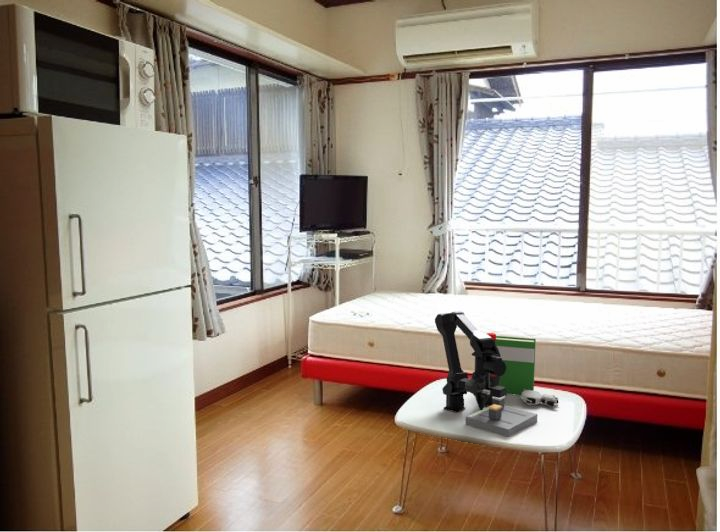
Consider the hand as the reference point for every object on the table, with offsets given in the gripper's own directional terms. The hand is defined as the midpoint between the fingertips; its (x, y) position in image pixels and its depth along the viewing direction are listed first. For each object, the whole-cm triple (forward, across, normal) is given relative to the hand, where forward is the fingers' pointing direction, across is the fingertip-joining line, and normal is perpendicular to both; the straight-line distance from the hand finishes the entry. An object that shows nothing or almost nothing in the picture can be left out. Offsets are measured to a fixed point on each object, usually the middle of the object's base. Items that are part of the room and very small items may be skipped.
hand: (481, 409), depth 228 cm
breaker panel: (+5, +6, +5) cm, 9 cm away
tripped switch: (+2, +6, 0) cm, 6 cm away
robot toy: (+6, +6, +36) cm, 37 cm away
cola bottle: (+5, -9, +21) cm, 23 cm away
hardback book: (+5, -10, +43) cm, 45 cm away
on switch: (+2, +1, +11) cm, 11 cm away
